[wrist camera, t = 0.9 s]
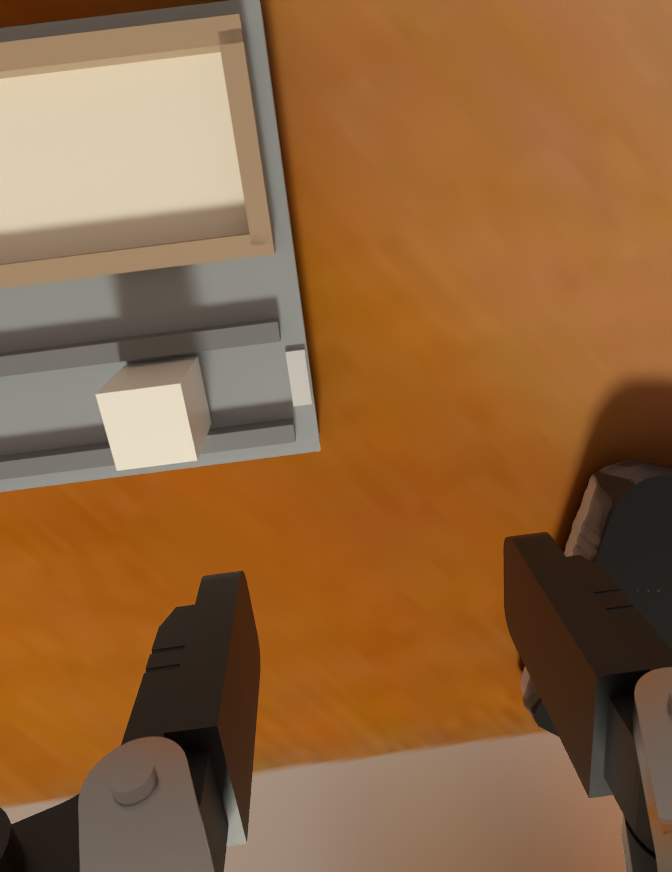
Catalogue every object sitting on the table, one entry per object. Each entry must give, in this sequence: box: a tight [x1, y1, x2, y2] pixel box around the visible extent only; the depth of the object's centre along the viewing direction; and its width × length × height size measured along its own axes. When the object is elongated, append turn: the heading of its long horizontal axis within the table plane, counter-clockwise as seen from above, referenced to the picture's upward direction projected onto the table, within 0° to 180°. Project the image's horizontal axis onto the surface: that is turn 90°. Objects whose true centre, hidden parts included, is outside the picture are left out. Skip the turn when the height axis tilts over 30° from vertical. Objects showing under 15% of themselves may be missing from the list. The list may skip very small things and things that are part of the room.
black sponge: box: [520, 460, 672, 736], centre depth 32 cm, size 16×8×4 cm, turn 170°
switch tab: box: [95, 356, 212, 471], centre depth 24 cm, size 3×3×4 cm
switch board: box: [0, 0, 321, 492], centre depth 24 cm, size 19×17×3 cm
